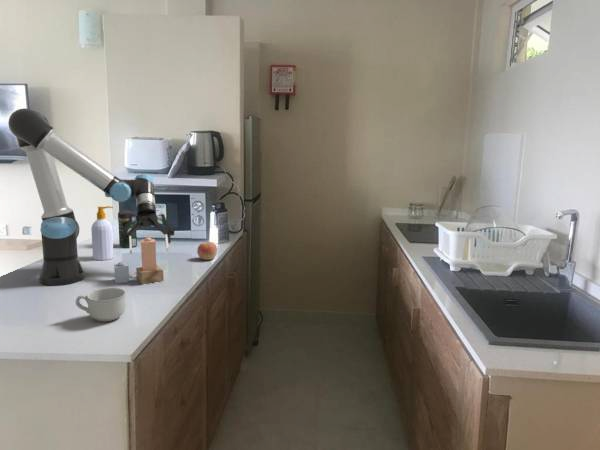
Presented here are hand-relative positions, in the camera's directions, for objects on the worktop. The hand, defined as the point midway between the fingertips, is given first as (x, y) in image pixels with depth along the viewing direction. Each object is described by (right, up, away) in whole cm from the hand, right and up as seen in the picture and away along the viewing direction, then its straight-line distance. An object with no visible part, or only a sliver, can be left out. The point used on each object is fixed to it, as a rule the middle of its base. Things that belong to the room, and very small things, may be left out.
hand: (149, 250), depth 178 cm
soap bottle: (-31, -5, +30) cm, 44 cm away
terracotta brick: (+1, -7, -3) cm, 7 cm away
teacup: (-1, -18, -40) cm, 44 cm away
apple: (+16, -6, +32) cm, 36 cm away
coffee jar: (-29, -1, +55) cm, 62 cm away
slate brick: (-10, -11, -3) cm, 15 cm away
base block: (+1, -12, -2) cm, 12 cm away
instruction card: (-7, -10, +6) cm, 13 cm away
